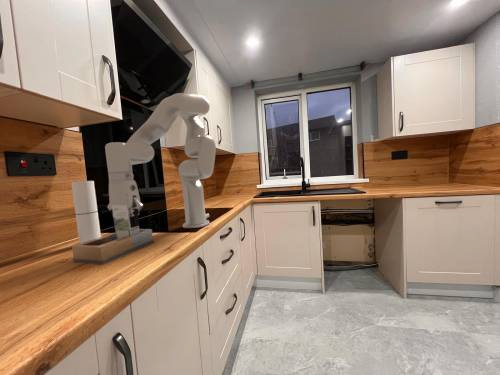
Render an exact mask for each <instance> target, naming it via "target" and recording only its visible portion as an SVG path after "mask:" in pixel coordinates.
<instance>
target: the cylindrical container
mask: <svg viewBox="0 0 500 375" xmlns="http://www.w3.org/2000/svg"><path fill="white" fill-rule="evenodd" d="M71 190H72V191H71V192H72V199H73V206H74V213H75V221H76V229H77V237H78V244H80V243H83V242H87V241H90V240H93V239H96V238H99V237H102V236H101V228H100V227H101V226H100V219H99V213H98V212H99V211H98V204H97V195H96V188H95V181H94V180H85V181H72V182H71Z"/></svg>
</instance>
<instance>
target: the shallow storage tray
mask: <svg viewBox="0 0 500 375" xmlns="http://www.w3.org/2000/svg"><path fill="white" fill-rule="evenodd" d="M139 231H140V233H137V234H134V235H131V236H125V237H122V238H120V239H116V232H113V233H109V234H107V235H103V236H101V237H99V238H96V239H93V240H90V241H87V242H83V243H80V244H79V243H78V244H74V245H72V246H71V249H72V257H73V258H72V262H73V263H84V264H97V265H98V264H99V265H105V264H107V263H109V262H112V261H114V260H117V259H118V258H120V257H121V258H122V257H123V256H125V255H127V254H130V253H133V252H135V251H137V250H140V249H142V248H144V247H147V246H148V245H151V244H153V243H154V238H153V229H151V228H139Z"/></svg>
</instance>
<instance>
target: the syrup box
mask: <svg viewBox="0 0 500 375" xmlns="http://www.w3.org/2000/svg"><path fill="white" fill-rule="evenodd" d="M132 207H133V206H132ZM112 210H113V214H112V218H113V223H114V230H115V233H116V239H120V238H122V237H125V236H131V235H134V234H137V233H140V231H139V229H140V225H139V226H137V227H134V228H131V225H130V217H131V215H130V213H129V209H128V208H127V205H113V206H112ZM132 211H134V210H132Z"/></svg>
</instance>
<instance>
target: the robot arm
mask: <svg viewBox="0 0 500 375" xmlns="http://www.w3.org/2000/svg"><path fill="white" fill-rule="evenodd" d="M210 108H211V107H210V101H209V100H208V99H207V97H205V96H203V95H202V94H195V93H194V94H193V93H185V92H179V93H178V92H177V93H174V94H172V95H170V96H168V97H165V98H163V99H162V100H161V101H160V103H159V104H158V105H157V106H156V108H155V109H154V111H153V112H152V113H151V115H150V116H149V117H148V119H147V120H146V121H145V122H144V123H142V125H141V126H140V127H139V128H138V129H137V130H136V131H135V132H134V133H133V134H132V135H131V136H130V137H129V139H128V140H127V141H126V142H120V141H119V142H118V141H116V142H115V141H114V142H109V143H106V144H105V146H104V149H105V151H104V152H105V158H106V166H107V174H108V198H109V199H108V200H109V203H108V204H107V207H106V208H107V209H108V210H109V212H110V213H111V215H113V210H112V206H113V205H127V208H128V209H129V213H130V215H131V217H130V225H131V228H134V227H137V226H139V227H140V218H139V216H140V212H141V211H142V209H143V207H144V204H143V203H142V202H141V197H140V194H139V193H140V192H139V189H138V184H137V182H136V180H134V177H135V175H134V174H133V166H134V165H138V164H146V163H149V162H150V161H152V160H153V158H154V157H155V150H154V148H153V146H152V144H153V143H155V142H156V141H157V140H159V139H161V138H162V137H164V136H165V135H166V134H167V133H168V131H169V130H170V128H171V127H172V125H173V123H174V122H176V119H177V118H178V117H180V118H181V119H182V120H183V122H184V123H185V126H186V134H185V135H186V136H185V144H184V154H185V156H187V157H188V158H190V159H186V160H184V161H182V162H181V163H180V164H179V166H178V168H177V169H178V175H179V179H180V182H181V187H182V199H183V208H184V215H185V216H184V217H185V222H184V223H183V224H182V228H184V229H196V228H203V227H206V226H209V225H210V220H208V218H210V214H209V213H206V209H205V208H206V207H205V197H204V196H205V195H204V186H203V183H202V181H201V180H203V179H208V178H211V177H212V175H213V173H214V170H215V169H214V168H215V160H216V153H217V152H216V150H217V147H216V143H215V140H214V138H213V137H211V136H210V135H207V134H206V135H205V132H206V130H205V126H204V124H203V123H202V121H201V119H200V118H199V117H200V116H201V117H202V116H204V115H206V114H208V113H209V111H210ZM132 206H133V207H132ZM132 210H134V211H132Z"/></svg>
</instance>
